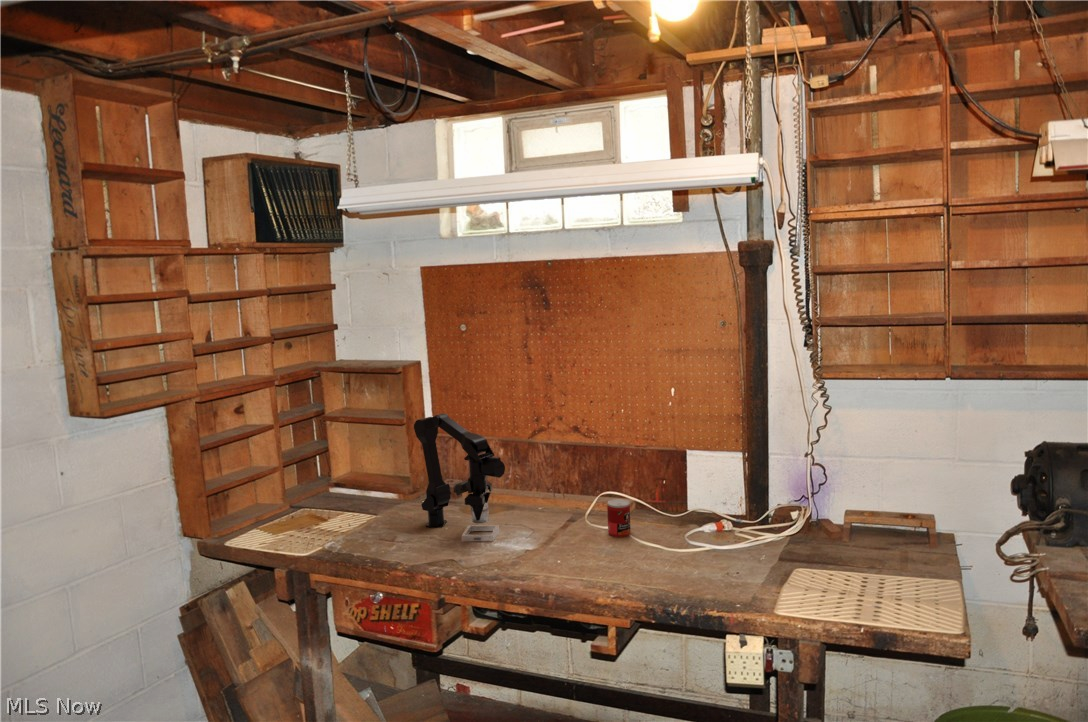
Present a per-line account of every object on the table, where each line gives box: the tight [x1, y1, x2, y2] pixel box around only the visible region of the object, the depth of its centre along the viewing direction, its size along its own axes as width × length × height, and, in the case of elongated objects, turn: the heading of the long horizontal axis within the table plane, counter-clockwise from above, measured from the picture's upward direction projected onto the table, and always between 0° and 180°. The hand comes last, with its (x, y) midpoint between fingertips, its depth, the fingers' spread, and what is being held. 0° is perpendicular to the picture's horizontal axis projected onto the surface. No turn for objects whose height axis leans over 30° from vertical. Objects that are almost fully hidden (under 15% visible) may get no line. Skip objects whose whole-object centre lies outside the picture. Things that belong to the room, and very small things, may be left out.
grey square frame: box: [461, 524, 500, 542], centre depth 277 cm, size 12×11×2 cm
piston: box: [470, 502, 490, 524], centre depth 277 cm, size 6×6×6 cm
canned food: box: [606, 498, 631, 538], centre depth 274 cm, size 8×8×11 cm
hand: (479, 517), depth 277 cm, fingers closed on piston, 6 cm apart
